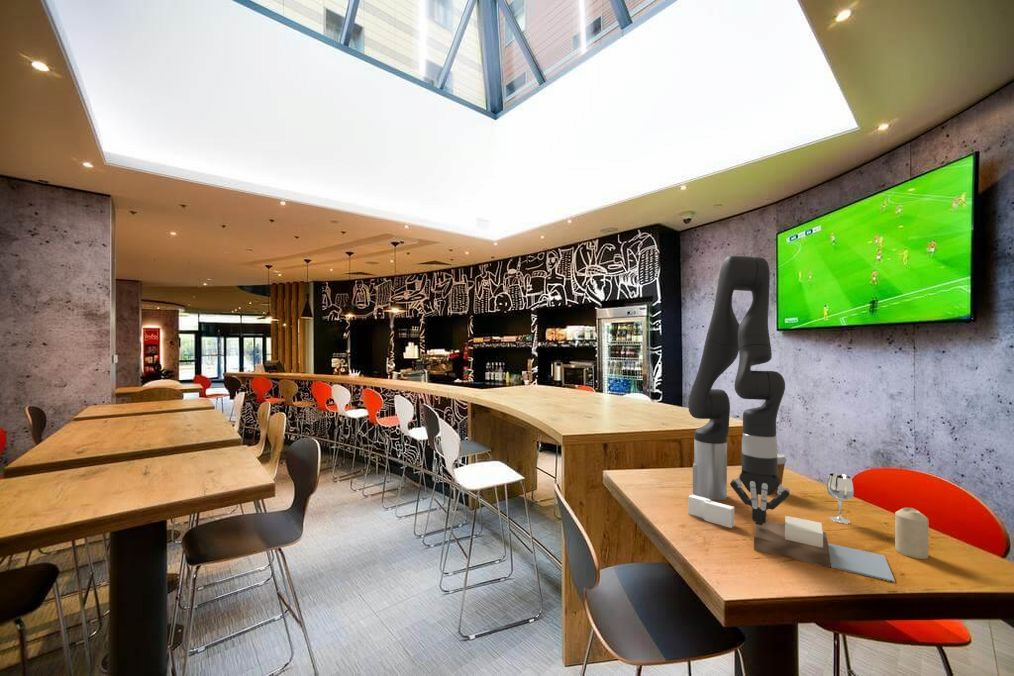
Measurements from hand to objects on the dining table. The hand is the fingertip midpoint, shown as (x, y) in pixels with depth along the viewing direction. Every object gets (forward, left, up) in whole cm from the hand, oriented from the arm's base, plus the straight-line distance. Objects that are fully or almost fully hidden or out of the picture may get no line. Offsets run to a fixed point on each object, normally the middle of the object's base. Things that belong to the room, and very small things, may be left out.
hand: (759, 523), depth 103 cm
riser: (+6, 0, -4) cm, 8 cm away
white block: (+9, 0, -1) cm, 9 cm away
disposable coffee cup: (0, +41, -4) cm, 41 cm away
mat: (+19, +1, -4) cm, 19 cm away
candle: (+29, +13, -4) cm, 32 cm away
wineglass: (+17, +26, -4) cm, 31 cm away
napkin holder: (-12, +7, -5) cm, 15 cm away
